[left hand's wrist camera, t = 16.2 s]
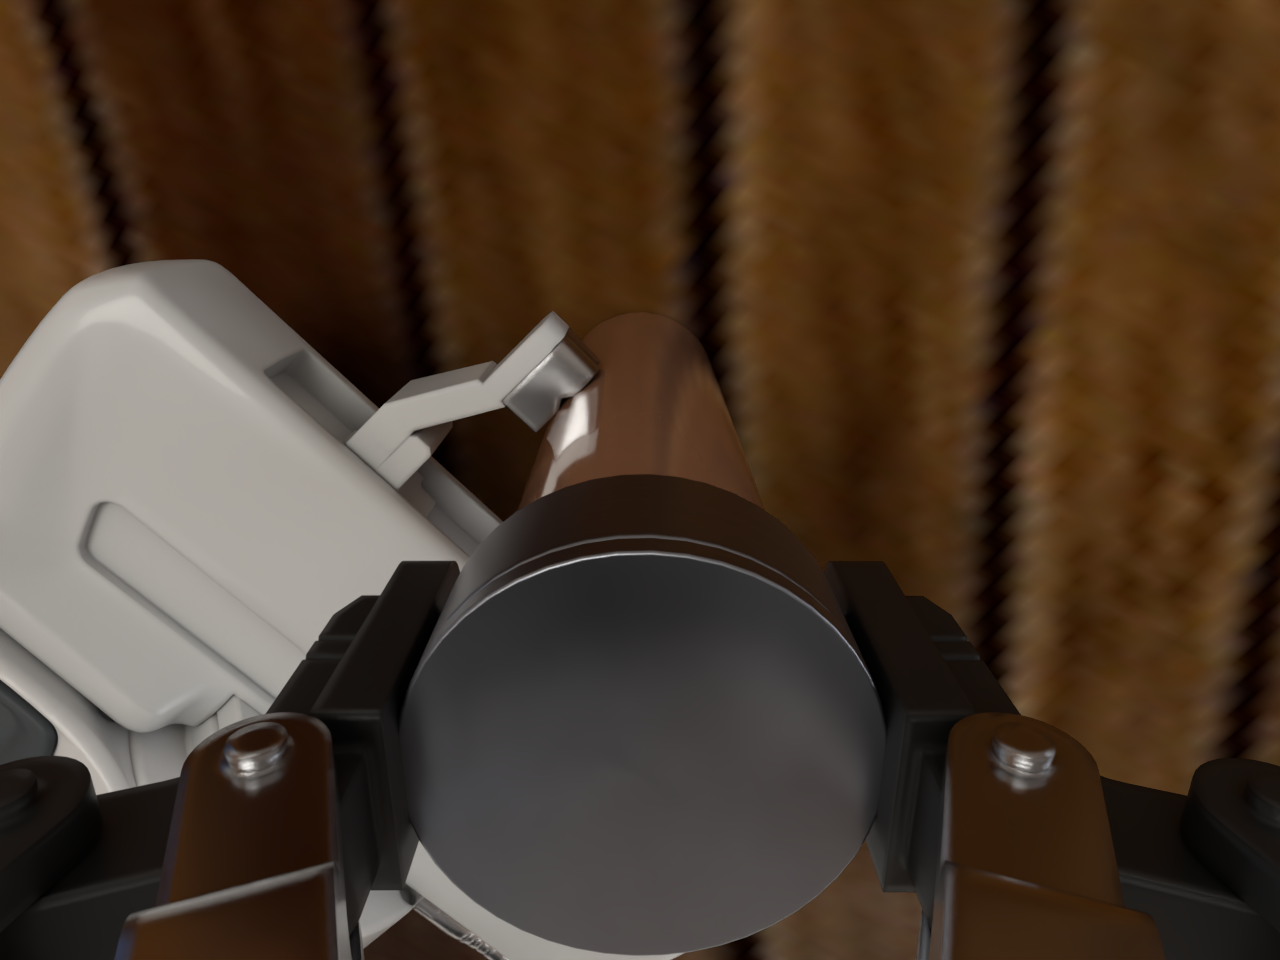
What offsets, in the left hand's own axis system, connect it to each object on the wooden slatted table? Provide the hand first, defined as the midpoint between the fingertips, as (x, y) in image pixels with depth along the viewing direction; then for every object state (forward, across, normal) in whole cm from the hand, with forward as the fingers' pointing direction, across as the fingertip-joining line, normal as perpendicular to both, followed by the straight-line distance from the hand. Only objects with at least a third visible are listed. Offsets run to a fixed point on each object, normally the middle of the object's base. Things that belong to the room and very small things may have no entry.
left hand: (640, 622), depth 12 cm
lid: (-3, 0, 0) cm, 3 cm away
